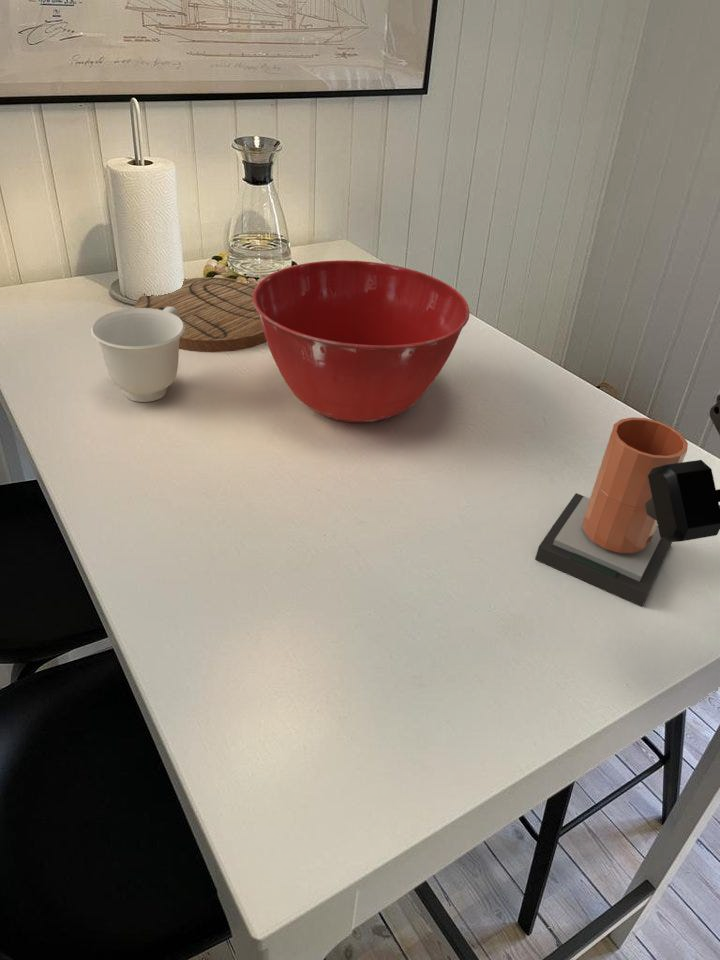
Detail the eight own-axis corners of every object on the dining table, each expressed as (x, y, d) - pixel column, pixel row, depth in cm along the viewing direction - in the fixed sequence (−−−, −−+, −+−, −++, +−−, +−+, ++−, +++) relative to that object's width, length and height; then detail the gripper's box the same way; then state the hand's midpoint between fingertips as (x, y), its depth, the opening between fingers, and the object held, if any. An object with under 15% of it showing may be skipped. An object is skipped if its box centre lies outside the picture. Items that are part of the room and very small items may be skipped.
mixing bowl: (294, 339, 122) (296, 245, 113) (468, 373, 117) (484, 277, 107) (221, 427, 100) (216, 319, 91) (431, 473, 95) (448, 364, 85)
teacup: (215, 374, 111) (212, 311, 105) (158, 423, 99) (151, 355, 93) (145, 356, 114) (138, 293, 108) (82, 401, 102) (70, 333, 96)
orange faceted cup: (657, 559, 80) (698, 460, 73) (589, 555, 80) (624, 455, 72) (637, 515, 86) (673, 419, 78) (574, 512, 86) (604, 415, 78)
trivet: (211, 367, 112) (211, 356, 111) (103, 316, 123) (101, 305, 122) (317, 317, 129) (318, 307, 128) (213, 276, 140) (213, 266, 139)
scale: (670, 545, 87) (678, 527, 85) (642, 607, 78) (650, 588, 77) (571, 505, 91) (577, 487, 90) (534, 559, 83) (540, 540, 81)
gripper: (900, 362, 59) (750, 409, 74) (703, 382, 54) (585, 428, 69) (934, 501, 58) (775, 521, 73) (736, 536, 53) (609, 549, 68)
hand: (688, 502), depth 71 cm, fingers open, 9 cm apart
